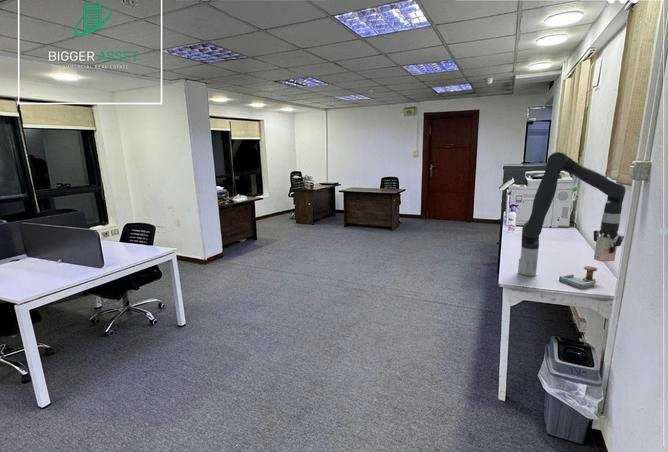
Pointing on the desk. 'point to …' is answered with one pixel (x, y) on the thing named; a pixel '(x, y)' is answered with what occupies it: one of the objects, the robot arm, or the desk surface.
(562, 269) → the desk surface
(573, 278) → the tray
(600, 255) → the supplement box
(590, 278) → the stool
